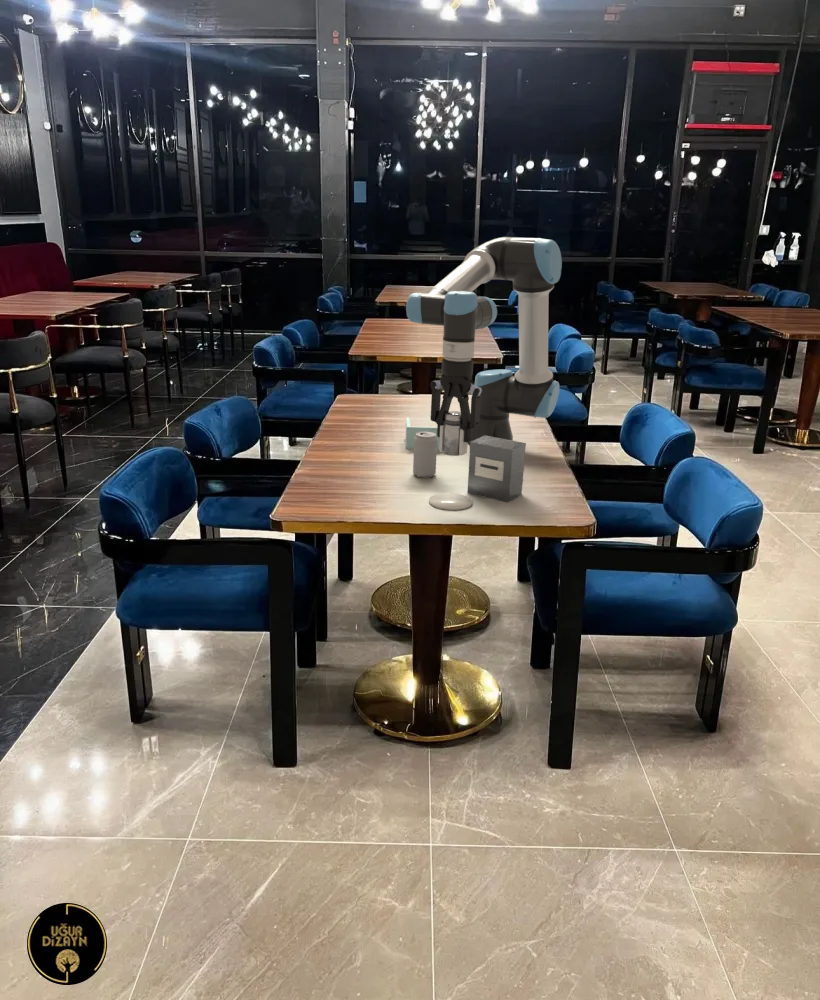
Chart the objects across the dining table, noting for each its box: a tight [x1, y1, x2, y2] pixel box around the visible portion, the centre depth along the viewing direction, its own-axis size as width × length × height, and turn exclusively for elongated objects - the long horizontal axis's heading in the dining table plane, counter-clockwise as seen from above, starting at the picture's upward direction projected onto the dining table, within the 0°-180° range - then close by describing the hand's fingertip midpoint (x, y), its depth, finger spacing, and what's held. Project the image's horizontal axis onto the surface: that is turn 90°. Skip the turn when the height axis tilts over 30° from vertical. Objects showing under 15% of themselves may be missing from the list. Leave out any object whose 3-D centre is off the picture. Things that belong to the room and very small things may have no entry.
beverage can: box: [412, 431, 438, 479], centre depth 217 cm, size 6×6×12 cm
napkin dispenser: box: [466, 435, 527, 503], centre depth 203 cm, size 8×12×14 cm
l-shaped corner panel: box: [405, 416, 440, 450], centre depth 248 cm, size 12×12×8 cm
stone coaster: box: [428, 492, 473, 511], centre depth 199 cm, size 11×11×1 cm
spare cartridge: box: [442, 410, 463, 457], centre depth 192 cm, size 5×5×10 cm
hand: (452, 452), depth 194 cm, fingers closed on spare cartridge, 5 cm apart
